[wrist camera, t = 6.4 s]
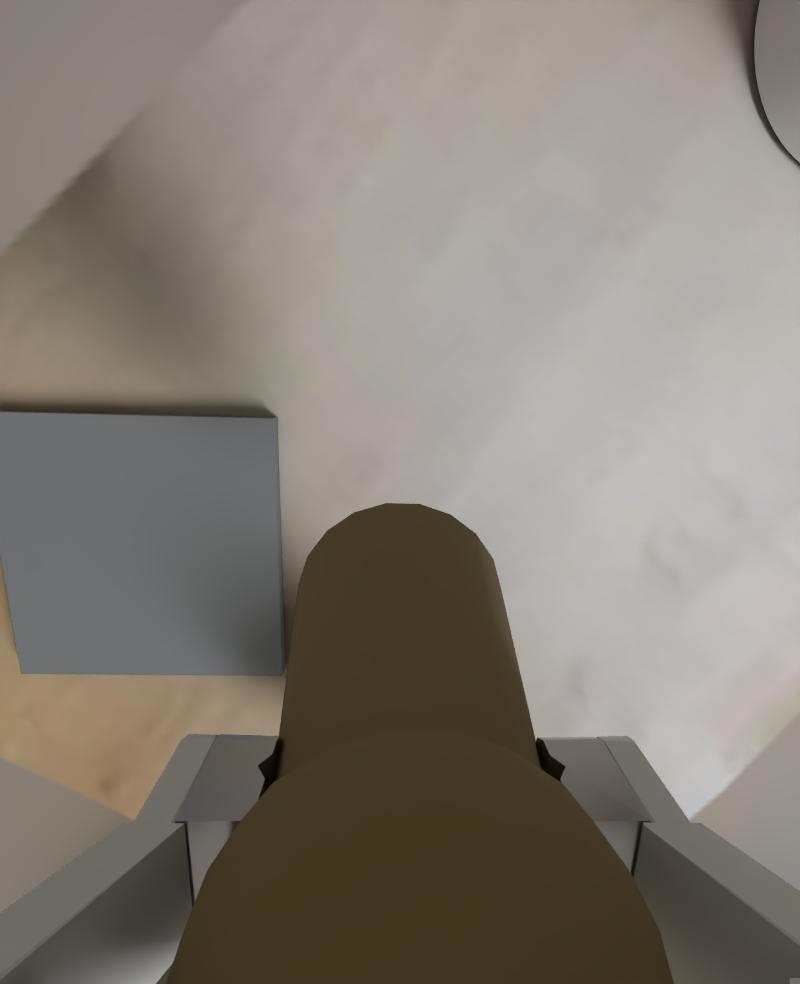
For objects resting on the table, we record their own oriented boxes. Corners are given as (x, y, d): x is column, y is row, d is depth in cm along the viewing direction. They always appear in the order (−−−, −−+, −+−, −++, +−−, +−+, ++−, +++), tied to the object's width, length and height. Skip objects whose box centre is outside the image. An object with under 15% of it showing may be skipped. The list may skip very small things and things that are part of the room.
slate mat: (277, 417, 27) (273, 418, 26) (285, 666, 31) (282, 675, 30) (-10, 410, 27) (-25, 411, 26) (32, 664, 30) (21, 673, 29)
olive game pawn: (316, 701, 15) (130, 1528, 4) (279, 517, 13) (-140, 1047, 3) (508, 676, 15) (818, 1445, 4) (492, 489, 13) (897, 917, 3)
